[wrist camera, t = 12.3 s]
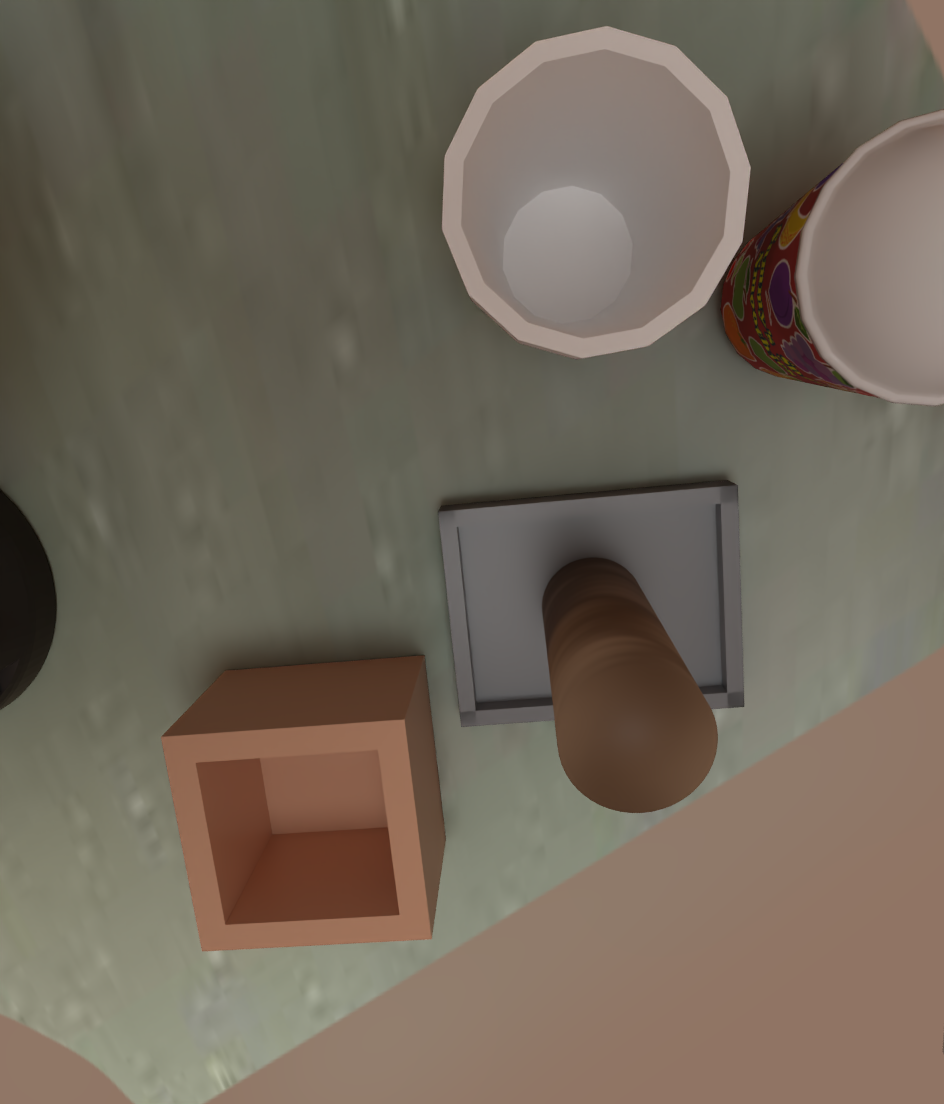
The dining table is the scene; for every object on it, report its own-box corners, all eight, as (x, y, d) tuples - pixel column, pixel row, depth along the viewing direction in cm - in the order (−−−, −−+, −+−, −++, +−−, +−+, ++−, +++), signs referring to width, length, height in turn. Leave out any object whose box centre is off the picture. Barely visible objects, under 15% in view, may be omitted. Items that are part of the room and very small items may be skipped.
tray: (463, 712, 43) (461, 726, 41) (441, 505, 40) (438, 511, 39) (734, 692, 42) (744, 706, 40) (727, 480, 39) (737, 485, 38)
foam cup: (696, 315, 38) (790, 285, 25) (513, 394, 39) (513, 403, 26) (623, 111, 36) (684, -32, 23) (434, 200, 37) (393, 110, 25)
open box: (256, 850, 45) (202, 951, 37) (225, 670, 43) (161, 736, 35) (445, 839, 44) (431, 939, 36) (424, 655, 42) (404, 719, 34)
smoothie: (663, 274, 37) (827, 165, 18) (827, 167, 36) (1197, -76, 17) (751, 428, 39) (993, 483, 19) (912, 330, 37) (1348, 282, 18)
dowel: (546, 658, 41) (563, 817, 26) (537, 561, 40) (551, 672, 25) (646, 650, 41) (720, 807, 26) (640, 553, 39) (714, 659, 25)
